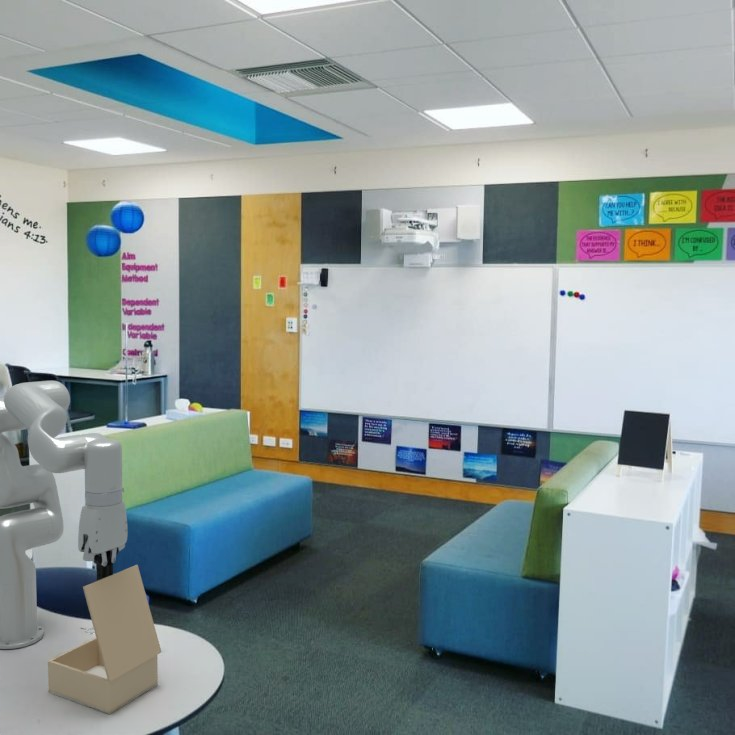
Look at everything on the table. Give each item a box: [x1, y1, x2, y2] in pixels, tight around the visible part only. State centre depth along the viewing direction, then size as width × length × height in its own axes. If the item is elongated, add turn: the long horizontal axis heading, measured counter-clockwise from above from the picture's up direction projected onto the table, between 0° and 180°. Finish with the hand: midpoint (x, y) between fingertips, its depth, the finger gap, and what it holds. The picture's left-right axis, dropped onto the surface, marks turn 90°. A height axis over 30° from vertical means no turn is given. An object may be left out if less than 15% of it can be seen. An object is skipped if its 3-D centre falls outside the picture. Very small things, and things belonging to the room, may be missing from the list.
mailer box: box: [47, 637, 159, 715], centre depth 170 cm, size 18×14×7 cm
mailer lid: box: [82, 564, 162, 682], centre depth 166 cm, size 20×15×1 cm
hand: (105, 581), depth 168 cm, fingers closed
